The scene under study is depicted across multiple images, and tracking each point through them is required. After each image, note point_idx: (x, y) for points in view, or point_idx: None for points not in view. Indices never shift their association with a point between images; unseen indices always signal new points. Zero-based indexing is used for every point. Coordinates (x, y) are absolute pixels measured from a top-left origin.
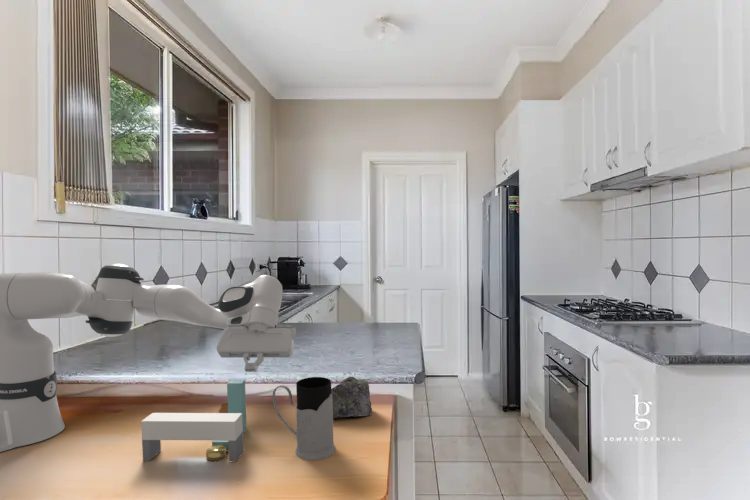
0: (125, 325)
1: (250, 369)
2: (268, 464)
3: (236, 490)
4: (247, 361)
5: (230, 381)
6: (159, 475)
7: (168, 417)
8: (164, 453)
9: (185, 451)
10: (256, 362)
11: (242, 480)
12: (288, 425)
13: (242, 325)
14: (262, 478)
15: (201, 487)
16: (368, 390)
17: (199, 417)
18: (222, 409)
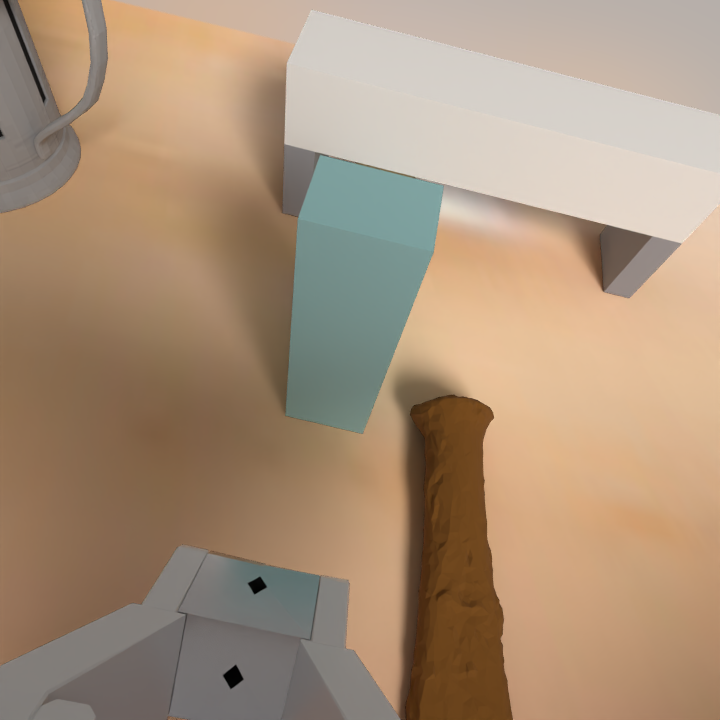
0: None
1: (257, 562)
2: (190, 123)
3: (284, 49)
4: (314, 662)
5: (425, 216)
6: None
7: (629, 115)
8: (579, 271)
9: (507, 267)
10: (140, 610)
11: (271, 78)
12: (64, 115)
13: None
14: (213, 71)
15: None
16: None
17: (485, 80)
18: (489, 696)
